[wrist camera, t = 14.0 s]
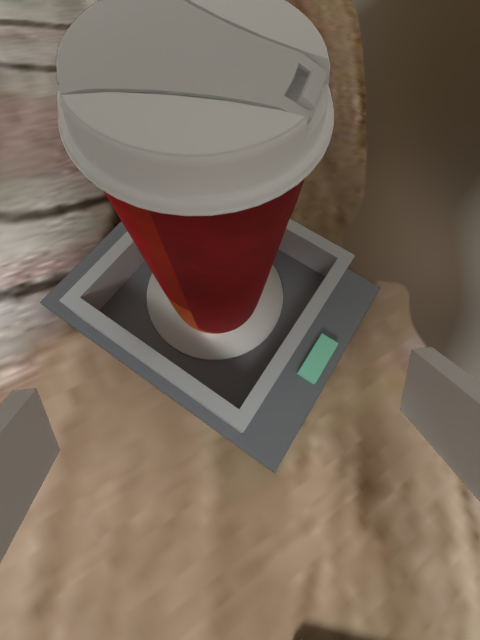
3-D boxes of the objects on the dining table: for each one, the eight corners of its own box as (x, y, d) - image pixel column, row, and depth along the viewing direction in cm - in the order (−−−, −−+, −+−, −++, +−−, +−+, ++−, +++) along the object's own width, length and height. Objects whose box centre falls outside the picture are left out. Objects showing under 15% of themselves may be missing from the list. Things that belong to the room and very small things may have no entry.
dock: (47, 308, 21) (15, 285, 18) (176, 178, 26) (168, 140, 22) (272, 471, 18) (282, 478, 15) (374, 293, 23) (398, 269, 20)
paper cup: (288, 265, 22) (378, 3, 9) (251, 368, 19) (301, 219, 6) (183, 230, 22) (119, -60, 9) (134, 325, 20) (-49, 109, 7)
